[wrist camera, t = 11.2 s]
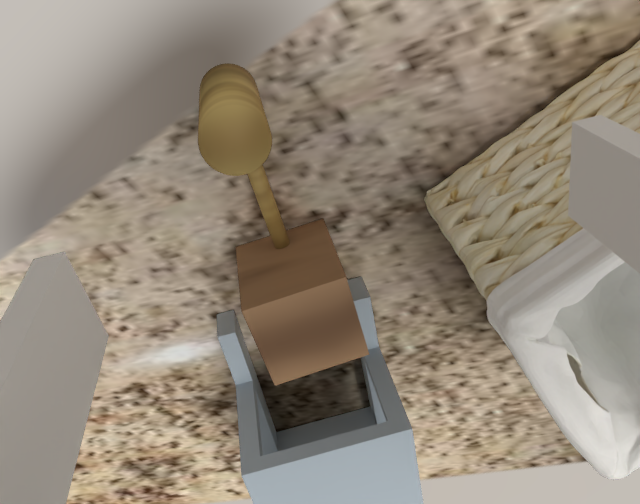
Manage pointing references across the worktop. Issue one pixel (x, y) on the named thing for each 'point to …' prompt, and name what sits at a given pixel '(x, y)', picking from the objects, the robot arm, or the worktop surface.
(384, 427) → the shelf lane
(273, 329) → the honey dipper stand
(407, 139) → the worktop surface
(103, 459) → the worktop surface
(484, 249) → the storage basket
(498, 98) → the worktop surface
